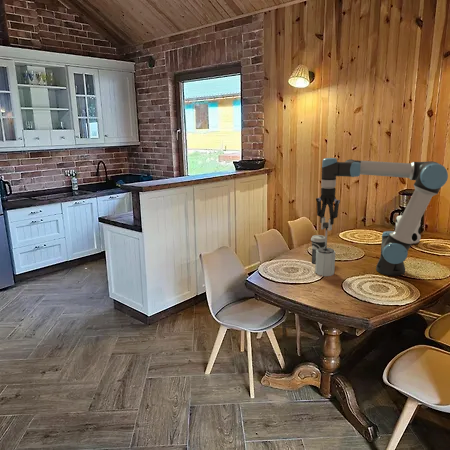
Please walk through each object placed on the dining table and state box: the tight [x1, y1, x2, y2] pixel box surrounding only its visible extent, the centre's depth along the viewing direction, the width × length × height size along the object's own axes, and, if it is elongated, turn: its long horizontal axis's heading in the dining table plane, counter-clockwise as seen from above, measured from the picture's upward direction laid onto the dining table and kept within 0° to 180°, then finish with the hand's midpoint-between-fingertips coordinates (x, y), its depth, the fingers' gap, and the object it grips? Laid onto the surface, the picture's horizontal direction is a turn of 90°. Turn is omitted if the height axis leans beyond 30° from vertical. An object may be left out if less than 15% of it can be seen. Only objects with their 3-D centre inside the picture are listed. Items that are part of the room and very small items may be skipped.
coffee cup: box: [310, 234, 325, 262], centre depth 238 cm, size 10×10×15 cm
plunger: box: [323, 221, 329, 254], centre depth 213 cm, size 7×7×18 cm
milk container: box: [394, 214, 422, 245], centre depth 268 cm, size 17×17×18 cm
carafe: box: [311, 247, 336, 277], centre depth 218 cm, size 13×10×14 cm
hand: (326, 229), depth 212 cm, fingers closed on plunger, 4 cm apart
